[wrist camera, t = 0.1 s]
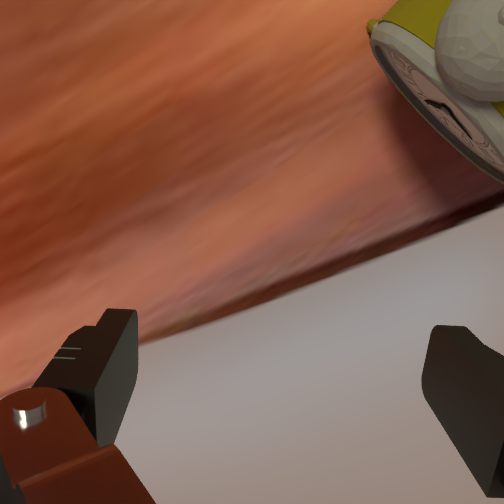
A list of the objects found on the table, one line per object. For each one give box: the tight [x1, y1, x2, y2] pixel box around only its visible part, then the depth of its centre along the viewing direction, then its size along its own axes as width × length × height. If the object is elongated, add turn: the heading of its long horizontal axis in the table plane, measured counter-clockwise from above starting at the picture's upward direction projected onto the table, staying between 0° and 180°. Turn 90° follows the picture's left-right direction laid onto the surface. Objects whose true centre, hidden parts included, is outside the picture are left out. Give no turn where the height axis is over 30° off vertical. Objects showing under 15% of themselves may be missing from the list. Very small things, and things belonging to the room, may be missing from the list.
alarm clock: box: [366, 0, 504, 184], centre depth 23 cm, size 12×7×15 cm, turn 47°
